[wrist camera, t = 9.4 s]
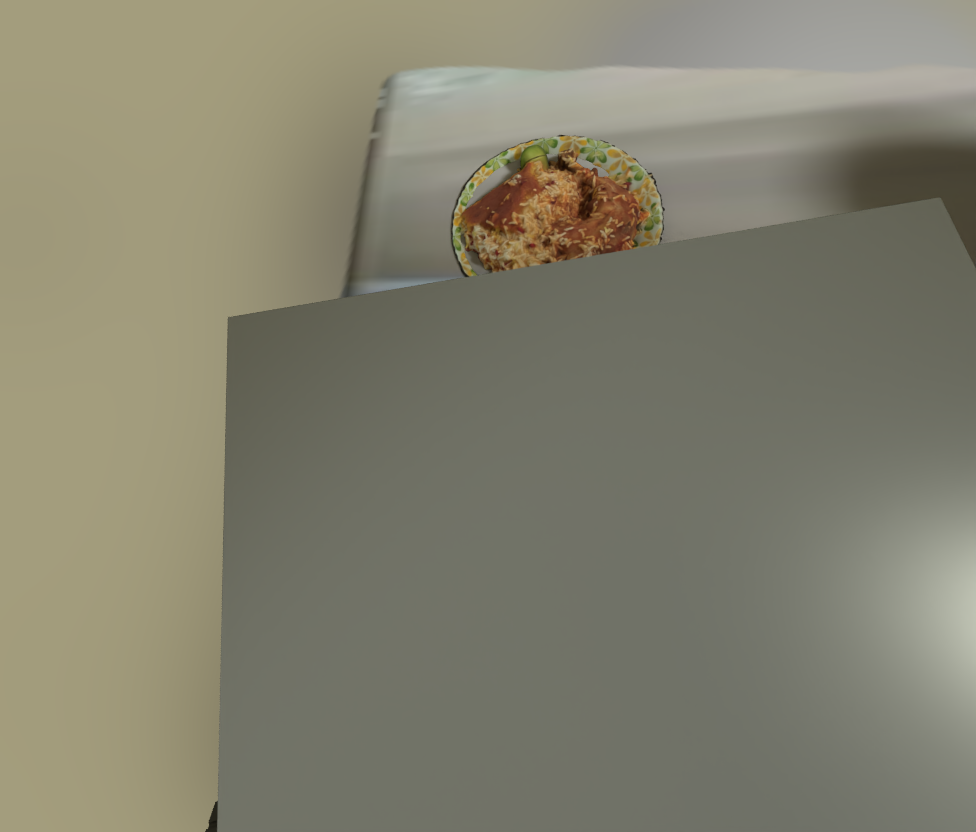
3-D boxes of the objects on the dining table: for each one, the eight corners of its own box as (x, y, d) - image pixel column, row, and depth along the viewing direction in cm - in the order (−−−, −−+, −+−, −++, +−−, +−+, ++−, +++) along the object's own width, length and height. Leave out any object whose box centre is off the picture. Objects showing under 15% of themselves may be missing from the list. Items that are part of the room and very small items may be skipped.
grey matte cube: (688, 397, 18) (940, 196, 7) (780, 733, 15) (1484, 1293, 4) (401, 441, 18) (227, 317, 8) (431, 775, 15) (205, 1377, 4)
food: (480, 344, 37) (475, 328, 34) (435, 183, 41) (428, 157, 38) (690, 284, 36) (703, 263, 33) (619, 128, 41) (626, 97, 38)
